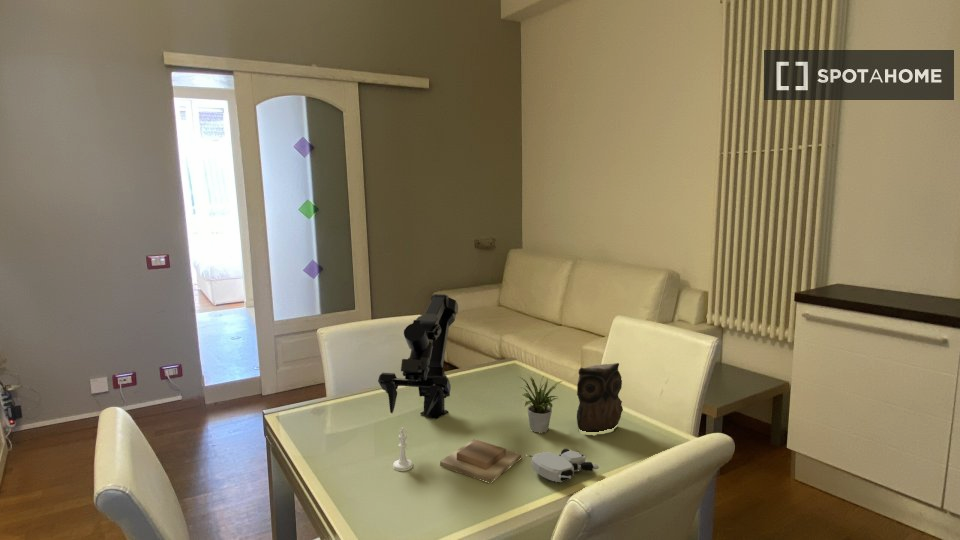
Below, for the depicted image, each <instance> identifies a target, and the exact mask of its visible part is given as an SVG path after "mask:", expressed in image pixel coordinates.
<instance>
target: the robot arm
mask: <svg viewBox="0 0 960 540" xmlns="http://www.w3.org/2000/svg"><path fill="white" fill-rule="evenodd" d="M430 298H431V299H430V302H429V304H428V307H427V308H426V310H425V312H424V314H422V315H420V316H418V317H417V318H416V319H413V321H412V323H410V324H408V325H407V326H406V327H405V328H404V330H403V335H404V338H405V341H406V343H407V345H408V349H410V354H409V357H408V358H402V359H401V365H400V372H401V373H402V376H403V377H405V378H402V377H401V378H400V377H399V378H398V377H397V375H396V373H395V372H393V373H392V372H381V373H380V374H379V376H378V380H377V383H378V384H379V386H380V387H381V389H382V390H383V391H385V393H386V394H387V395H388V406H389V412H390V414H393V413H394V411H395V406H396V401H397V396H398V391H397V390H398V387H414V388H418V394H419V395H418V396H419V397H423V411H421V412H420V413H419V414H420V415H421V416H423V417H428V418H431V419H434V420H437V419H439V418H441V417H443V416H445V415H446V414H448V413H449V410H447V409H445V399H447V398H449V397H451V387H452V386H451V382H450V380H449V378H448V377H447V375H446V372H445V371H444V361H445V356H446V348H447V341H448V334H449V328H450V327H451V326H452V325H453V323H454V322H455V321H456V318H457V317H456V315H458V312H459V304H458V301H457V300H456V299H454V298H451V297H450V296H449V295H447V294H443V293H442V294H441V293H440V294H438V293H436V294H435V293H434V294H432V295H431V297H430Z"/></svg>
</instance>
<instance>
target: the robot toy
mask: <svg viewBox="0 0 960 540" xmlns="http://www.w3.org/2000/svg"><path fill="white" fill-rule="evenodd" d="M525 457H529V458H530V457H531V468H532V469H533V470H534V471H535V472H536V473H537V474H538V475H539V476H540V477H543V478H545V479H546V480H549V481H551V482H554V481H555V482H554V483H557V482H560V483H562V482H566V481H568V480H571V479H572V478H574V472H575V471H577V472H579V471H578V470H580V471H581V470H582V471H585V472H593V470H598V469H599V465H598V464H596V463H593V462H591V461H586V457H587V456H586V455H584V454H582V453H581V452H578V451H576V450H572V449H568V448H563V449H562V450H561V452H560V454H557V453H554V452H549V451H543V452H540V453H534V455H531V454H525Z"/></svg>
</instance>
